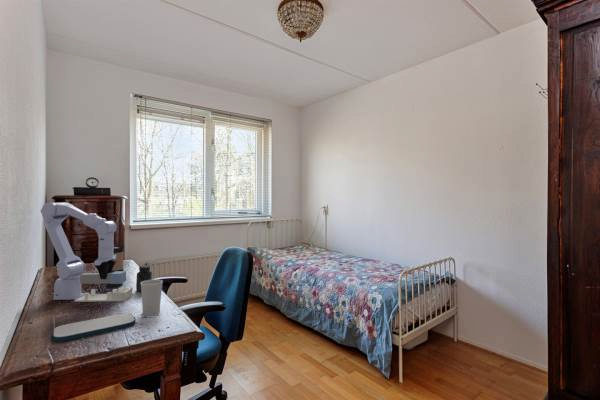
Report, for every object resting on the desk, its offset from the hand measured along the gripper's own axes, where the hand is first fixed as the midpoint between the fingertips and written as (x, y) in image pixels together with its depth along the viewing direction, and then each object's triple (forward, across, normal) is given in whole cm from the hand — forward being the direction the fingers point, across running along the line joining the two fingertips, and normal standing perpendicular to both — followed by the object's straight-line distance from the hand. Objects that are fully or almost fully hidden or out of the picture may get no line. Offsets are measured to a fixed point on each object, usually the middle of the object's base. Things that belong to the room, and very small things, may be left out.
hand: (105, 278), depth 137 cm
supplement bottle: (+10, +12, -12) cm, 20 cm away
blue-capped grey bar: (+2, 0, 0) cm, 2 cm away
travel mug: (+10, +21, +6) cm, 24 cm away
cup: (+10, -17, -26) cm, 33 cm away
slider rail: (+9, +1, 0) cm, 9 cm away
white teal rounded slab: (+10, -32, -13) cm, 36 cm away
